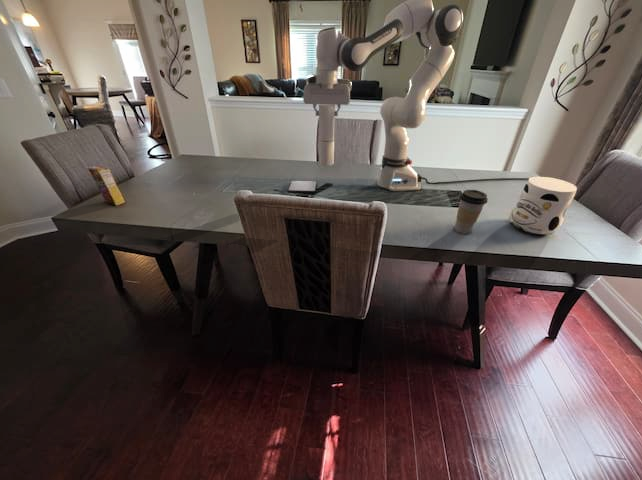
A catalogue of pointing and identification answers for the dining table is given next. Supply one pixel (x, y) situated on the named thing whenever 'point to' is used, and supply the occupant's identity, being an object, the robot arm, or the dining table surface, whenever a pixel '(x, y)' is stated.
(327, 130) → the cylindrical container
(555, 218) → the milk container
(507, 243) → the dining table surface
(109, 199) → the candy box
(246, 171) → the dining table surface
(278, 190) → the dining table surface
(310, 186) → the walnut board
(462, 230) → the coffee cup
